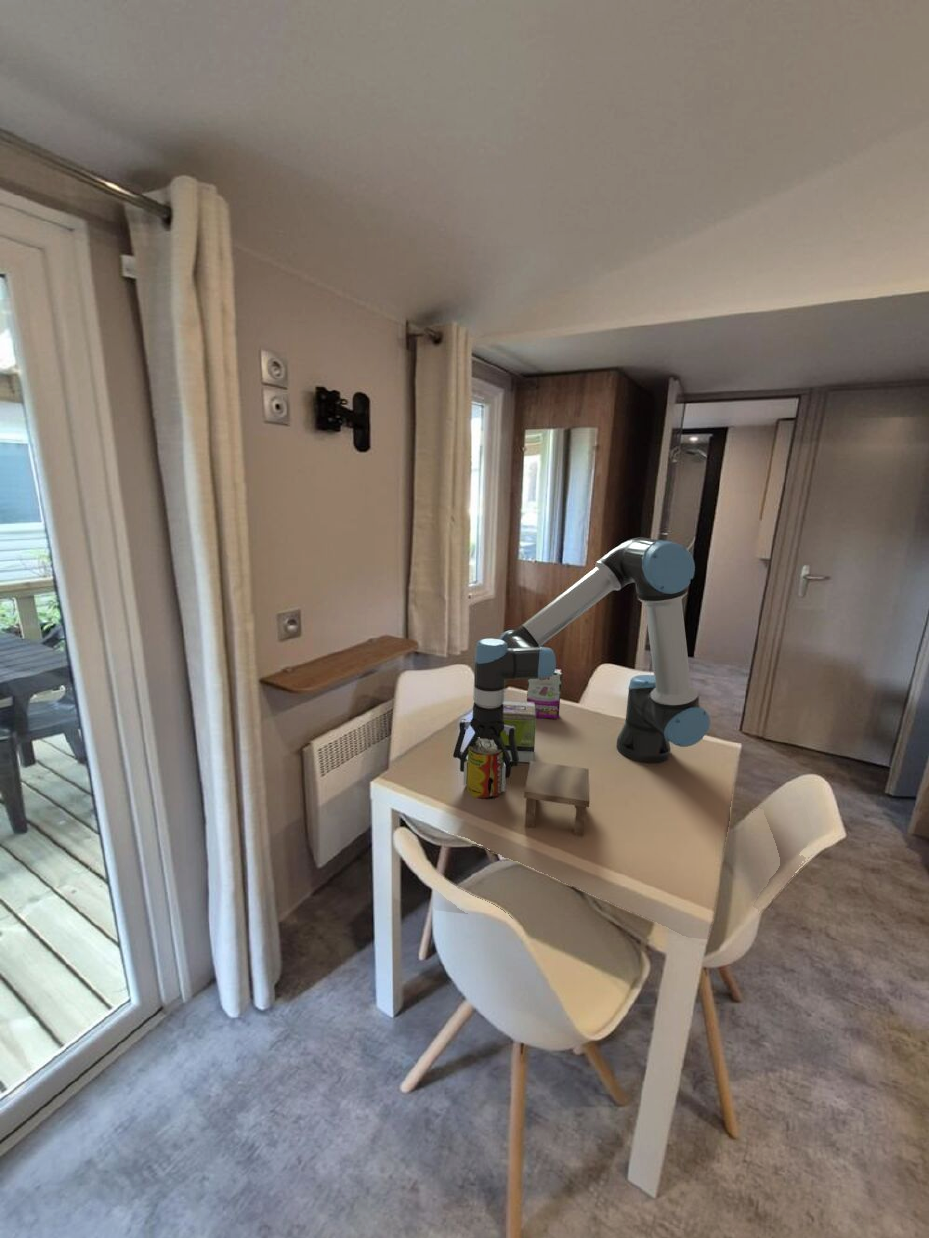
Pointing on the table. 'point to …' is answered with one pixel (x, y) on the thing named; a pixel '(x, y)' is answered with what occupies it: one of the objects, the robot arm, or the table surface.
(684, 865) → the table surface
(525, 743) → the tea box
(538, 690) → the candy bar box
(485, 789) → the beverage can
